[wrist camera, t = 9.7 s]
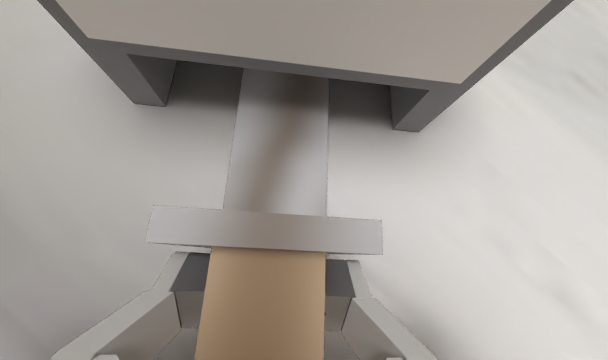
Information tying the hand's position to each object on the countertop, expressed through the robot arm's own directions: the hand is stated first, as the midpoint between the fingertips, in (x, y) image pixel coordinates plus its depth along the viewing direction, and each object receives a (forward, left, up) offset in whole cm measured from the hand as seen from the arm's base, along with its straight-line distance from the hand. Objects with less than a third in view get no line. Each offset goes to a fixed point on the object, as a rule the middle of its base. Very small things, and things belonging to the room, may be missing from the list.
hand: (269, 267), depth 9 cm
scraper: (0, +7, -5) cm, 9 cm away
